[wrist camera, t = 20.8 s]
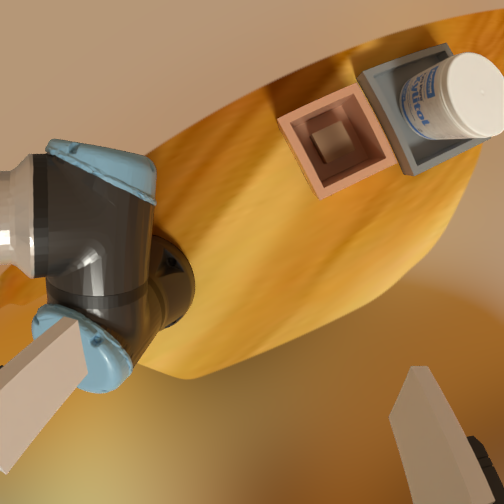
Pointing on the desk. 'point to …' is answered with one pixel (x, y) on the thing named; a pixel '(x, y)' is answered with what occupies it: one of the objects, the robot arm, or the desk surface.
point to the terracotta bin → (357, 127)
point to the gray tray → (391, 119)
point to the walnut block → (332, 142)
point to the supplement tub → (455, 99)
